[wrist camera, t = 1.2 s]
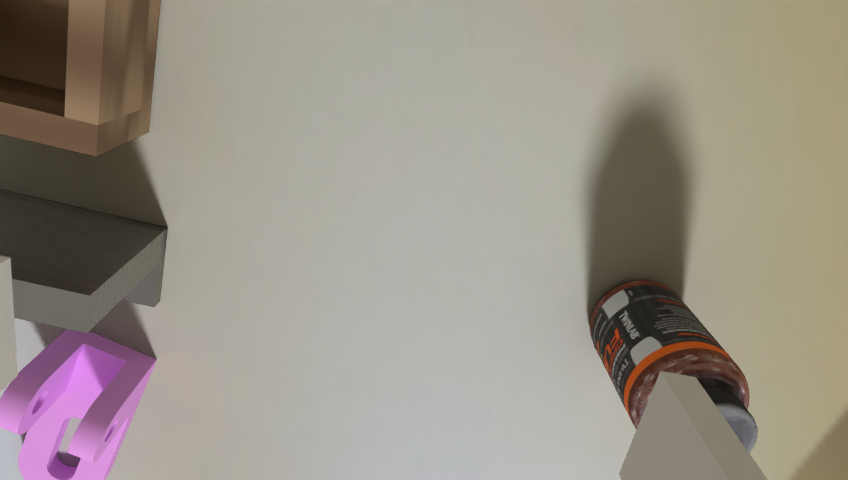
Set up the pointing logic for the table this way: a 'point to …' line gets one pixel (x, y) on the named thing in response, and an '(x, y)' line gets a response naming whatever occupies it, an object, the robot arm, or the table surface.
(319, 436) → the table surface
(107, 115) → the brown wooden box
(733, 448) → the robot arm
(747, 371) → the table surface
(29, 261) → the backstop
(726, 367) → the supplement bottle
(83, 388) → the bracket
